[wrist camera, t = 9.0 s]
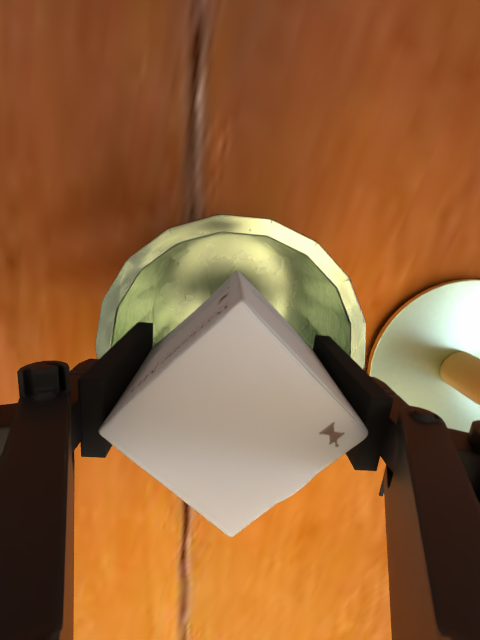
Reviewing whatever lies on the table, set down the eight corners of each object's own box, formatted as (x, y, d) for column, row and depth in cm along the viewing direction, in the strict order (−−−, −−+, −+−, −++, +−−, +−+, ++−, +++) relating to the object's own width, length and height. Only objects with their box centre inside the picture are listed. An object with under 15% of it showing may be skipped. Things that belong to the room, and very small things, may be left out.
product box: (237, 265, 15) (245, 293, 8) (314, 350, 17) (378, 437, 10) (150, 346, 16) (90, 433, 9) (230, 420, 18) (231, 547, 10)
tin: (145, 215, 23) (89, 201, 14) (329, 232, 24) (393, 230, 14) (143, 384, 26) (98, 463, 17) (303, 394, 27) (342, 474, 18)
